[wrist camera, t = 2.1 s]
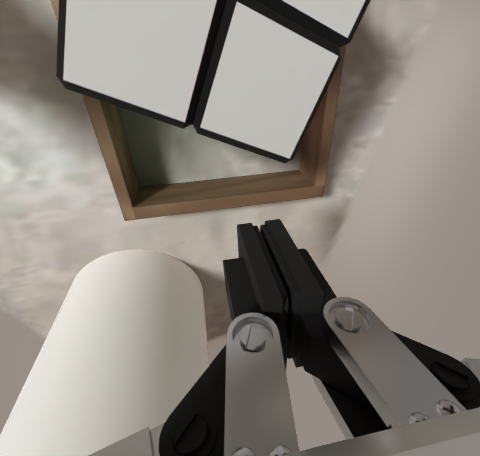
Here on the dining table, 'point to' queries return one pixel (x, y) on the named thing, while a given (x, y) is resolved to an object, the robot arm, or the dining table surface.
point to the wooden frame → (217, 190)
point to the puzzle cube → (210, 62)
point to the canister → (112, 357)
